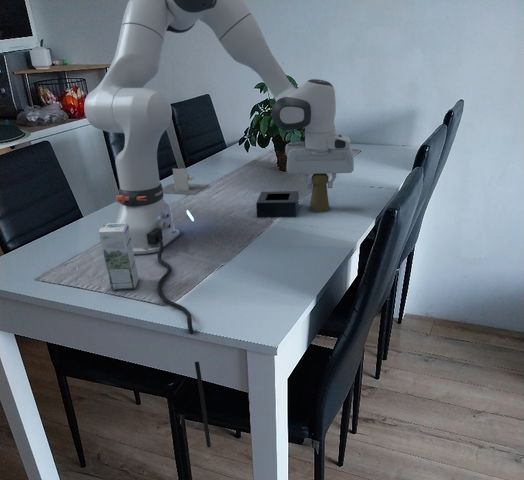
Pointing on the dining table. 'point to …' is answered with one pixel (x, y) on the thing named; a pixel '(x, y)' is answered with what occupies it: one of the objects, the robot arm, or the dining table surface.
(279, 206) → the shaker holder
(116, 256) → the syrup box
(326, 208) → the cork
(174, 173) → the architectural model
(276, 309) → the dining table surface
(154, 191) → the robot arm
